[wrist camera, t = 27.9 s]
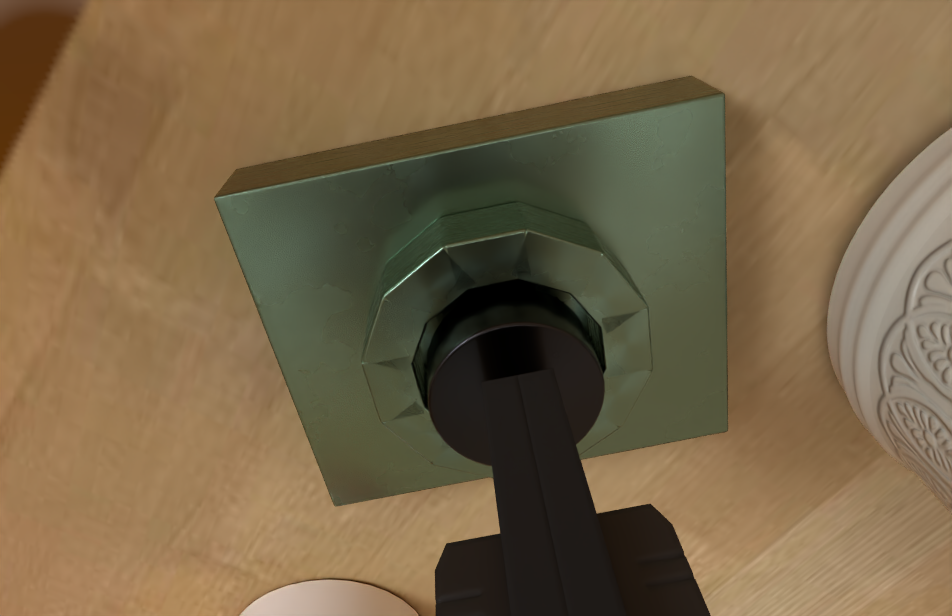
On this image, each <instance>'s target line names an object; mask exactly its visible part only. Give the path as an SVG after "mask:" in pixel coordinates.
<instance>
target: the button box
mask: <svg viewBox="0 0 952 616" xmlns="http://www.w3.org/2000/svg"><path fill="white" fill-rule="evenodd" d="M214 200H215V203H216V206H217V208H218V211H219V213H220V216H221V218H222V221H223V223H224V226H225V228H226V231H227V234H228V236H229V239H230V241H231V244H232V246H233V249H234V251H235V254H236V257H237V259H238V262H239V264H240V267H241V269H242V272H243V274H244V277H245V279H246V282H247V285H248V287H249V290H250V292H251V295H252V297H253V300H254V302H255V305H256V308H257V310H258V313H259V315H260V318H261V320H262V323H263V325H264V328H265V330H266V333H267V336H268V338H269V341H270V343H271V346H272V348H273V351H274V353H275V356H276V359H277V361H278V364H279V366H280V369H281V371H282V374H283V376H284V379H285V381H286V384H287V387H288V389H289V392H290V394H291V397H292V399H293V402H294V404H295V407H296V410H297V412H298V415H299V417H300V420H301V422H302V425H303V427H304V430H305V432H306V435H307V438H308V440H309V443H310V445H311V448H312V450H313V453H314V455H315V458H316V461H317V463H318V466H319V468H320V471H321V473H322V476H323V478H324V481H325V483H326V486H327V489H328V491H329V494H330V496H331V499H332V501H333V504H334V506H336V507H337V506H342V505H347V504H352V503H358V502H363V501H368V500H373V499H378V498H384V497H389V496H394V495H399V494H404V493H410V492H415V491H420V490H425V489H431V488H436V487H441V486H446V485H451V484H457V483H462V482H467V481H472V480H477V479H483V478H488V477H490V478H493V472H492V466H487V465H484V464H480V463H477V462H474V461H472V460H470V459H467V458H466V457H464V456H462V455H460V454H459V453H457V452H456V451H454V450H453V449H452V448H451V447H450V446H449V445H448V444H447V443H445V442H444V440H443V439H442V438H441V436H440V435H439V434H438V433H437V431H436V429H435V427H434V425H433V423H432V420H431V418H430V414H429V409H428V381H427V355H428V348H429V345H430V341H431V339H432V336H433V334H434V332H435V330H436V329H437V327H438V325H439V324H440V322H441V321H442V320H443V319H444V318H445V317H446V315H447V314H448V313H449V312H451V311H452V310H453V309H454V308H455V307H456V306H458V305H459V304H461V303H462V302H463V301H465V300H467V299H469V298H471V297H473V296H475V295H477V294H480V293H482V292H485V291H489V290H493V289H498V288H505V287H520V288H529V289H534V290H538V291H541V292H544V293H547V294H549V295H551V296H553V297H555V298H557V299H559V300H560V301H562V302H563V303H565V304H566V305H567V306H568V307H570V308H571V309H572V310H573V311H574V312H575V314H576V315H577V316H578V317H579V319H580V320H581V322H582V324H583V326H584V327H585V330H586V332H587V335H588V337H589V339H590V342H591V344H592V347H593V349H594V352H595V354H596V356H597V359H598V361H599V364H600V366H601V369H602V372H603V376H604V381H605V394H604V401H603V405H602V408H601V412H600V414H599V416H598V418H597V420H596V422H595V424H594V425H593V427H592V429H591V430H590V431H589V432H588V433H587V435H586V436H585V437H584V438H583V439H582V440H581V441H580V442H579V443H578V444H576V447H577V450H578V453H579V457H580V460H582V459H587V458H592V457H597V456H603V455H608V454H613V453H618V452H623V451H629V450H634V449H639V448H644V447H650V446H655V445H660V444H665V443H670V442H676V441H681V440H686V439H691V438H696V437H702V436H707V435H712V434H717V433H723V432H727V431H728V368H727V261H726V154H725V94H724V93H723V92H721V91H719V90H718V89H716V88H714V87H712V86H710V85H708V84H706V83H704V82H702V81H701V80H699V79H697V78H695V77H693V76H688V77H683V78H678V79H673V80H668V81H664V82H659V83H654V84H649V85H644V86H639V87H634V88H630V89H625V90H620V91H615V92H610V93H605V94H600V95H595V96H591V97H586V98H581V99H576V100H571V101H566V102H561V103H557V104H552V105H547V106H542V107H537V108H532V109H527V110H523V111H518V112H513V113H508V114H503V115H498V116H493V117H489V118H484V119H479V120H474V121H469V122H464V123H459V124H455V125H450V126H445V127H440V128H435V129H430V130H425V131H421V132H416V133H411V134H406V135H401V136H396V137H391V138H387V139H382V140H377V141H372V142H367V143H362V144H357V145H353V146H348V147H343V148H338V149H333V150H328V151H323V152H318V153H314V154H309V155H304V156H299V157H294V158H289V159H284V160H280V161H275V162H270V163H265V164H260V165H255V166H250V167H246V168H241V169H236V170H235V171H234V172H233V174H232V175H231V176H230V178H229V179H228V180H227V182H226V183H225V184H224V185H223V187H222V188H221V189H220V191H219V192H218V193H217V194H216V196H215V197H214Z"/></svg>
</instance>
